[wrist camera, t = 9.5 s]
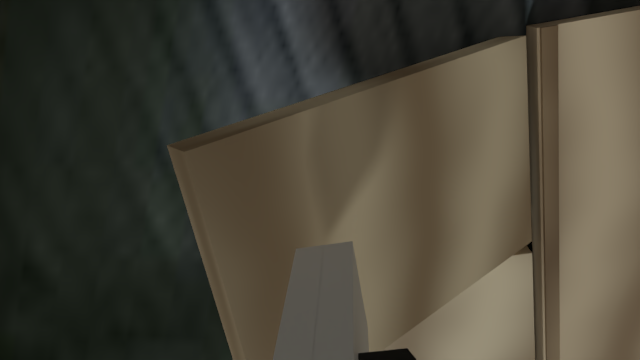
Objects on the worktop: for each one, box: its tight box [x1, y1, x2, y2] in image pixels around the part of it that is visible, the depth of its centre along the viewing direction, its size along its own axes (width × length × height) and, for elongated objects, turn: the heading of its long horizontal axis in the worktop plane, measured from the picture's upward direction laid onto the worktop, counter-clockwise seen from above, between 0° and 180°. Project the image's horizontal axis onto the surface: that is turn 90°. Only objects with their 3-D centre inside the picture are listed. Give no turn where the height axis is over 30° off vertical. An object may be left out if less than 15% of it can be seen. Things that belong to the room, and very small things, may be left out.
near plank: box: [167, 35, 532, 360], centre depth 17 cm, size 14×9×1 cm
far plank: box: [382, 245, 535, 360], centre depth 25 cm, size 14×9×1 cm, turn 100°
